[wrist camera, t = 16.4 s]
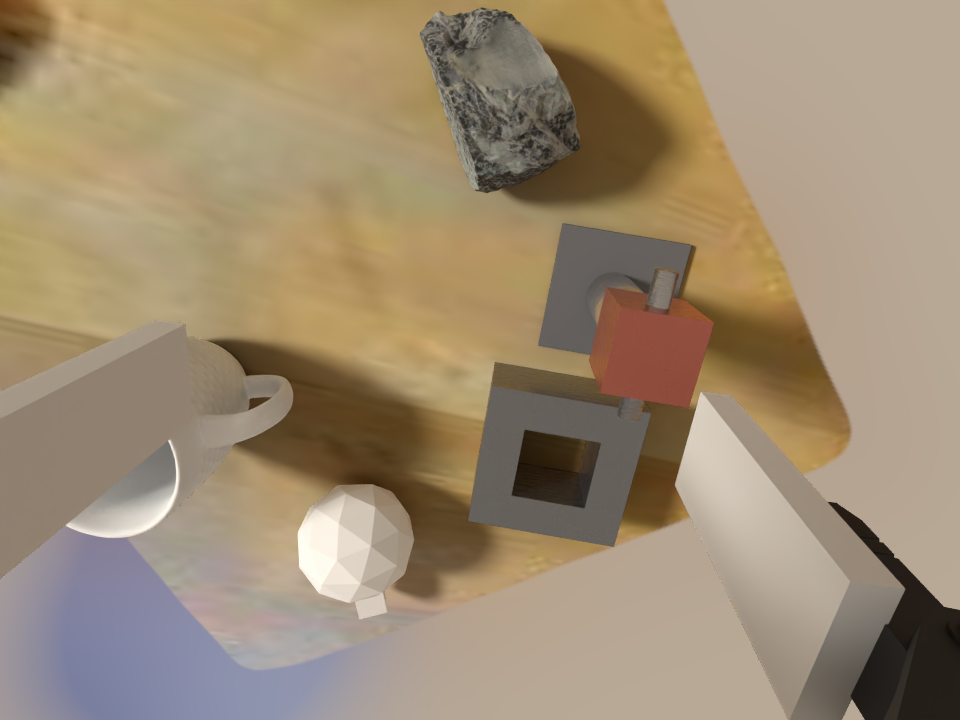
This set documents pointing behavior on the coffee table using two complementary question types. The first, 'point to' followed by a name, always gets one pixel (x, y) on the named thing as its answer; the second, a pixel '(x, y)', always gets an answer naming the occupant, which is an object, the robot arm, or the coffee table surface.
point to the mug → (190, 444)
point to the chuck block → (549, 492)
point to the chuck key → (645, 341)
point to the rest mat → (585, 261)
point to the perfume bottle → (356, 545)
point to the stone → (499, 97)
